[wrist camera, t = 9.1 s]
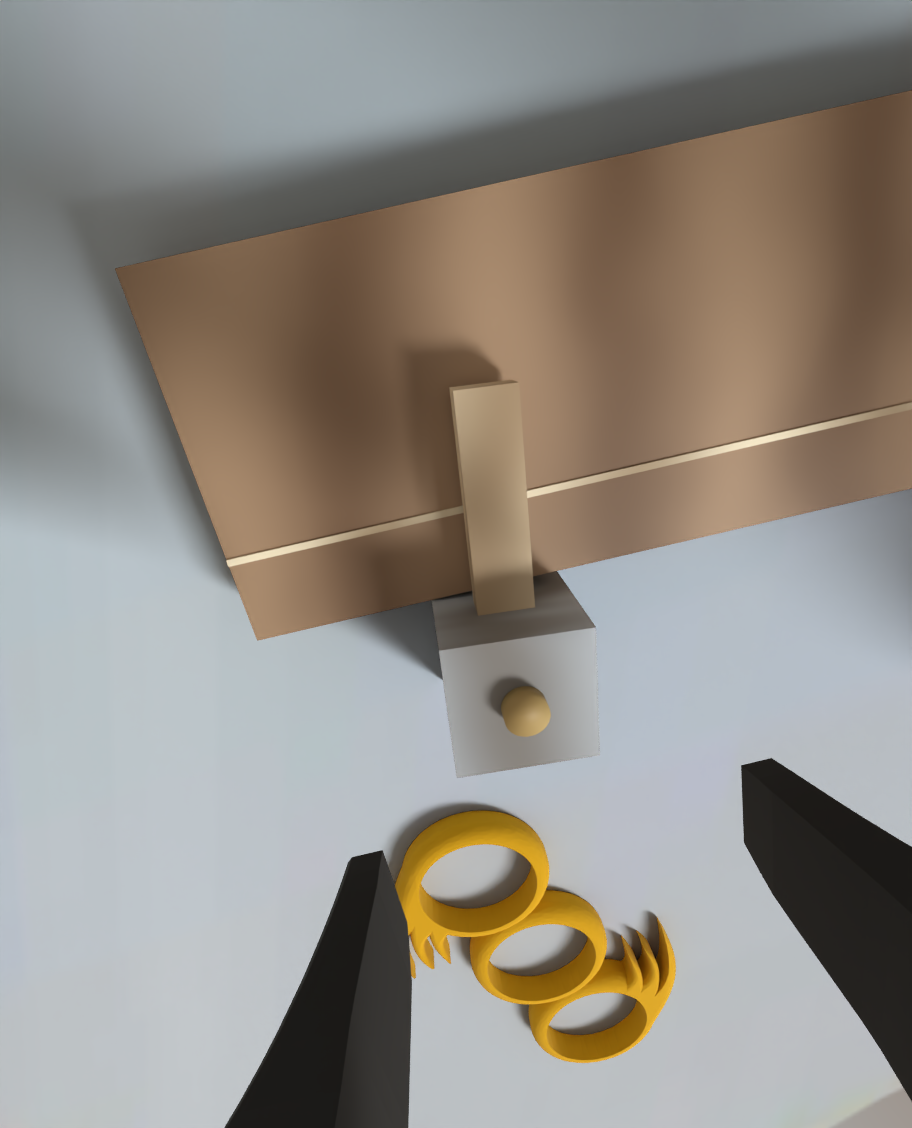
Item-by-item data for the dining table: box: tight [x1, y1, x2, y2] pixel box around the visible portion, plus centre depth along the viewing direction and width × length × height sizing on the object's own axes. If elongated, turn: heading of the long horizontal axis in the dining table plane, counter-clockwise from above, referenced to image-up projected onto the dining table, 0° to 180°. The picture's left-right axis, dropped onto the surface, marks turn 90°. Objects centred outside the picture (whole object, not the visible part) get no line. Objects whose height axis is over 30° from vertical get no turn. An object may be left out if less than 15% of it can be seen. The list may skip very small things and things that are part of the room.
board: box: [115, 90, 912, 640], centre depth 17 cm, size 24×10×2 cm, turn 102°
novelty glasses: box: [395, 810, 676, 1063], centre depth 26 cm, size 17×2×10 cm
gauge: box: [432, 380, 600, 778], centre depth 17 cm, size 4×10×6 cm, turn 6°
